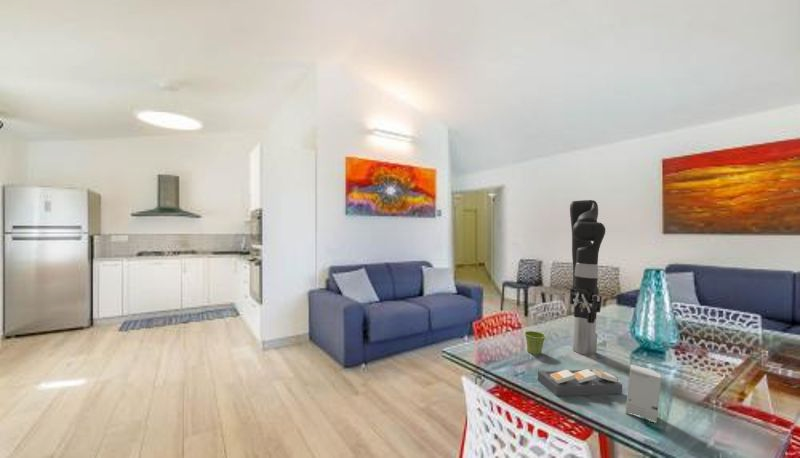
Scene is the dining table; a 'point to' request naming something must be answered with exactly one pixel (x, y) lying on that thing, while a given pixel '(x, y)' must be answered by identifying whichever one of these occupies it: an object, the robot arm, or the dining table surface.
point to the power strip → (579, 385)
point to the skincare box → (643, 392)
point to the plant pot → (534, 341)
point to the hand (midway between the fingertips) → (583, 319)
